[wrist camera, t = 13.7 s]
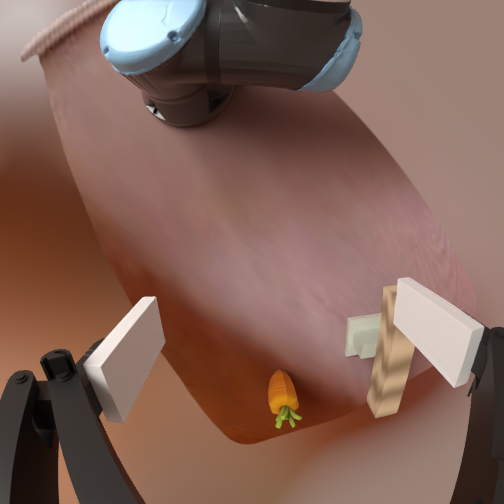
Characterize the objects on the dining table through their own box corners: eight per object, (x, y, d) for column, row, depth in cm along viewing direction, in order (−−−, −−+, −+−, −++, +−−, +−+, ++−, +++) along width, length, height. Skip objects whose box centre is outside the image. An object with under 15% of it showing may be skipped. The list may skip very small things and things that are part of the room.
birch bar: (383, 286, 41) (399, 299, 36) (406, 283, 41) (423, 295, 36) (366, 400, 46) (375, 418, 41) (386, 395, 46) (396, 412, 41)
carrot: (293, 360, 51) (306, 414, 36) (289, 380, 52) (299, 434, 37) (267, 358, 50) (273, 413, 36) (264, 378, 51) (268, 434, 37)
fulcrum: (347, 317, 49) (358, 332, 43) (403, 309, 49) (418, 322, 43) (344, 354, 51) (354, 371, 45) (398, 344, 50) (410, 359, 45)
